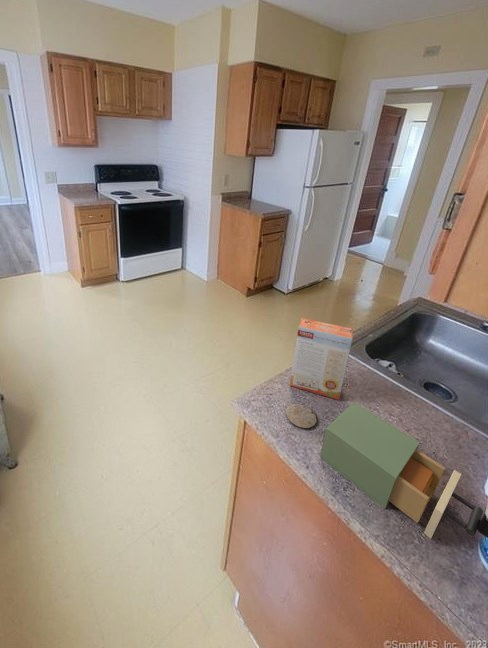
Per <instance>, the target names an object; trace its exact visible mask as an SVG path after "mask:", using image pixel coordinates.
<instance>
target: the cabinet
mask: <svg viewBox="0 0 488 648" xmlns="http://www.w3.org/2000/svg"><path fill="white" fill-rule="evenodd" d="M420 444H421V441H419V440H417V439H415V438H414V437H412V436H411V435H410V434H407V433H406V432H404V431H402V430H401V429H399V428H398V427H397V426H395V425H393V424H391V423H390V422H388V421H386V420H385V419H383V418H382V417H380V416H378V415H377V414H375V413H374V412H372V411H370V410H369V409H367V408H365V407H363V405H361V404H359V403H357V402H355V401H353V402H352V403H351V404H350V405H348V406H347V408H346V409H345V410H344V411H343V412H341V413H340V414H339V415H338V416H337V417H336V418H335V419H334V420H333V421H332V422H331V423H330V424H329V425H328V426H327V427H326V429H325V432H324V438H323V441H322V446H321V450H320V454H319V458H320V459H322V460H323V461H324V462H326V463H327V464H328V466H330V467H332V469H334V470H335V471H337V472H338V473H339V474H340V475H341V476H343V477H344V478H345V479H346V480H347V481H349V482H350V483H352V485H353V486H355V487H357V489H359V490H360V491H361V492H362V493H364V494H365V495H366V496H368V497H369V498H370V499H371V500H373V501H374V502H375V503H376V504H378V505H379V506H380V507H381V508H383V509H384V510H386V509H387V507H388V505H389V504H390V503H391V502H390V501H389V499H390V496H391V493H392V490H393V488H394V485H395V482H396V479H397V478H398V476H399V475H400V473H401V472H402V470H403V469H404V467H405V466H406V464H407V463H408V461H409V460H410V458H411V457H412V455H413V454H414V452H415V450H416V449H417V450H419V447H420Z"/></svg>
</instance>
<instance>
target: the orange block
mask: <svg viewBox="0 0 488 648" xmlns="http://www.w3.org/2000/svg"><path fill="white" fill-rule="evenodd" d="M432 475H433V471H431V470H430V469H428V468H427V467H425V466H424V465H422V464H421V463H419V462H417V461H416V460H414V459H413V458H410V460H409V461H408V463H407V464H406V466H405V467H404V469H403V470H402V472H401V473H400V475H399V476H400V477H401V478H403V479H404V480H406V481H407V482H408V483H410V484H411V485H413V486H414V487H415V488H417V489H418V490H420V491H421V492H422V493H424V494H426V492H427V491H428V489H429V487H430V485H431V482H432V480H433V478H434V477H433V476H432Z"/></svg>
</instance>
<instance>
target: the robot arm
mask: <svg viewBox="0 0 488 648" xmlns="http://www.w3.org/2000/svg"><path fill="white" fill-rule="evenodd" d="M477 532H478V533H480V534H481V535H483V536H484V537H485V538H487V539H488V503H487V504H486V508H485V512H484V513H483V515H482V518H481V521H480V524H479V526H478V529H477Z"/></svg>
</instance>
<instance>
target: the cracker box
mask: <svg viewBox="0 0 488 648" xmlns="http://www.w3.org/2000/svg"><path fill="white" fill-rule="evenodd" d="M353 335H354V334H353V328H351V327H347V326H342V325H337V324H332V323H327V322H323V321H318V320H314V319H309V318H305V317H301V318H300V322H299V325H298V329H297V336H296V341H295V348H294V355H293V360H292V368H291V375H290V380H289V386H290V387H292V388H296V389H299V390H302V391H306V392H310V393H313V394H316V395H320V396H323V397H326V398H329V399H333V400H337V401H339V400H340V397H341V394H342V390H343V389H342V388H343V384H344V379H345V375H346V370H347V367H348V362H349V357H350V352H351V349H352V348H351V347H352V344H353V340H354V339H353V338H354V337H353Z"/></svg>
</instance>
